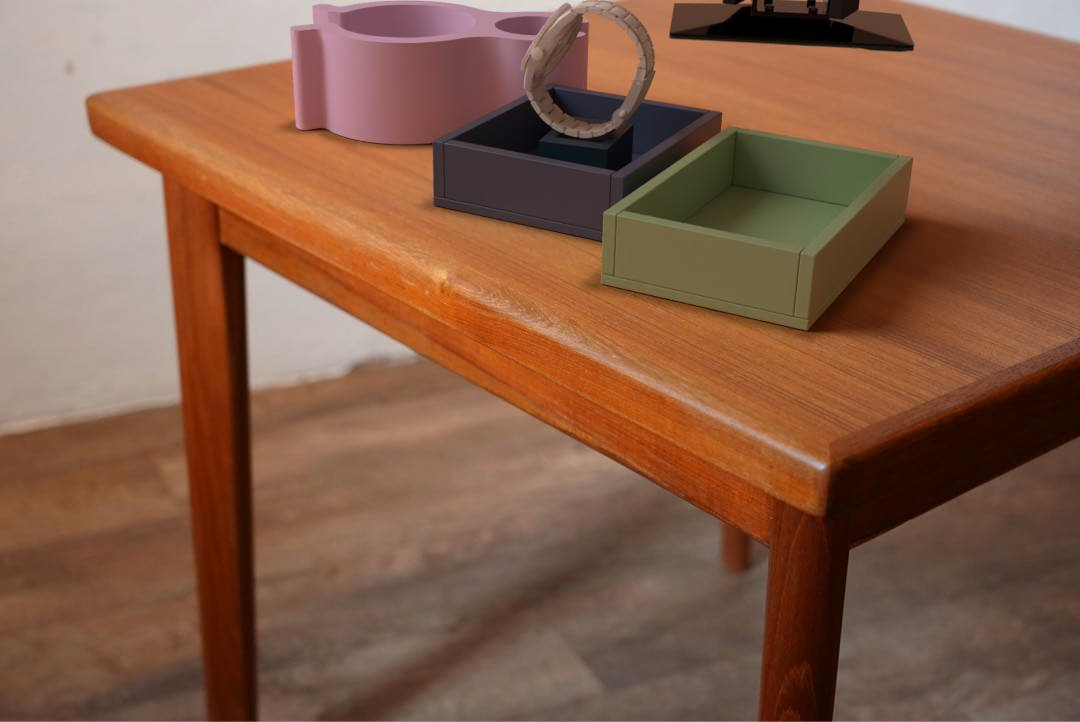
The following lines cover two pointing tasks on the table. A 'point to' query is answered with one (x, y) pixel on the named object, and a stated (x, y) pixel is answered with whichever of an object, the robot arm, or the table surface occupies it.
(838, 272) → the green bin
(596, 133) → the watch
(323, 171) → the table surface
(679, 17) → the dark piece
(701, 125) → the blue bin
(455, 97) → the pink double dish
